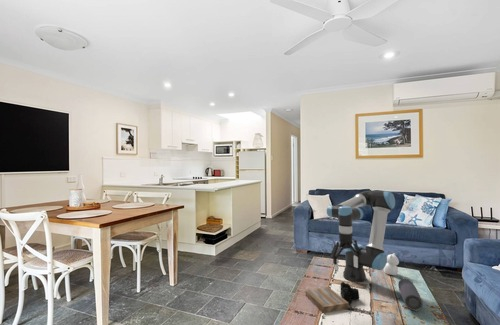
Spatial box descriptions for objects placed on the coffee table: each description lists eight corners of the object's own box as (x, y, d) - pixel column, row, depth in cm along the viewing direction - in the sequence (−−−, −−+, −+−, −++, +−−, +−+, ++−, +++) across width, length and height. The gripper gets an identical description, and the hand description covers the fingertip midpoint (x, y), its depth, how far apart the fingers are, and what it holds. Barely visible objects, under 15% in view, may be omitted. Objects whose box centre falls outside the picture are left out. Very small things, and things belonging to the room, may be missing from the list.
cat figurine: (396, 278, 181) (396, 256, 181) (378, 272, 190) (378, 252, 191) (401, 274, 187) (401, 254, 187) (383, 269, 196) (383, 249, 197)
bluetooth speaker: (397, 292, 159) (396, 276, 160) (414, 295, 156) (414, 278, 156) (403, 311, 138) (403, 292, 139) (423, 314, 135) (423, 295, 135)
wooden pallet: (328, 291, 160) (328, 287, 160) (348, 308, 141) (348, 302, 141) (305, 295, 156) (305, 290, 156) (323, 312, 137) (323, 307, 137)
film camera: (361, 307, 142) (361, 290, 143) (343, 305, 144) (342, 289, 145) (355, 294, 157) (355, 279, 157) (339, 292, 159) (339, 278, 159)
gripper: (358, 229, 159) (359, 263, 159) (323, 232, 152) (324, 268, 152) (367, 232, 152) (368, 268, 151) (331, 235, 145) (331, 273, 144)
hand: (346, 268), depth 151 cm, fingers open, 13 cm apart
